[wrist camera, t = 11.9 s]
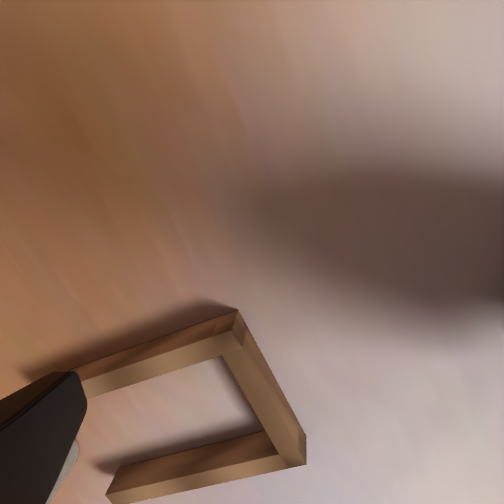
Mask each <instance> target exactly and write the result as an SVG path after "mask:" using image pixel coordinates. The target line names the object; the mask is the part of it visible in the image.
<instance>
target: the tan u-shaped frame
mask: <svg viewBox="0 0 504 504" xmlns="http://www.w3.org/2000/svg"><path fill="white" fill-rule="evenodd" d="M221 355H222V356H223V358H224V360H225V361H226V363H227V365H228V367H229V368H230V370H231V372H232V374H233V375H234V377H235V379H236V380H237V382H238V384H239V386H240V387H241V389H242V391H243V393H244V394H245V396H246V398H247V399H248V401H249V403H250V405H251V406H252V408H253V410H254V412H255V413H256V415H257V417H258V418H259V420H260V422H261V424H262V425H263V427H264V429H265V431H262V432H258V433H254V434H250V435H246V436H242V437H238V438H234V439H230V440H227V441H223V442H219V443H215V444H211V445H207V446H203V447H199V448H195V449H191V450H187V451H183V452H179V453H175V454H172V455H168V456H164V457H160V458H156V459H152V460H148V461H144V462H140V463H136V464H132V465H128V466H124V467H120V468H118V470H117V472H116V474H115V476H114V478H113V480H112V482H111V484H110V486H109V488H108V490H107V492H106V494H105V495H106V496H107V498H108V499H109V500H110V501H111V503H112V504H129V503H134V502H138V501H143V500H147V499H152V498H156V497H161V496H165V495H170V494H174V493H179V492H183V491H188V490H192V489H197V488H201V487H206V486H211V485H215V484H220V483H224V482H229V481H233V480H238V479H242V478H247V477H251V476H256V475H260V474H265V473H269V472H274V471H278V470H283V469H288V468H292V467H297V466H301V465H306V435H305V433H304V431H303V429H302V427H301V425H300V424H299V422H298V420H297V418H296V416H295V414H294V412H293V411H292V409H291V407H290V405H289V403H288V401H287V399H286V398H285V396H284V394H283V392H282V390H281V388H280V387H279V385H278V383H277V381H276V379H275V377H274V375H273V374H272V372H271V370H270V368H269V366H268V364H267V362H266V361H265V359H264V357H263V355H262V353H261V351H260V349H259V348H258V346H257V344H256V342H255V340H254V338H253V336H252V335H251V333H250V331H249V329H248V327H247V325H246V323H245V322H244V320H243V318H242V316H241V314H240V312H239V310H236V311H233V312H231V313H228V314H225V315H222V316H219V317H217V318H214V319H211V320H208V321H205V322H203V323H200V324H197V325H194V326H191V327H189V328H186V329H183V330H180V331H177V332H175V333H172V334H169V335H166V336H163V337H161V338H158V339H155V340H152V341H149V342H147V343H144V344H141V345H138V346H135V347H133V348H130V349H127V350H124V351H122V352H119V353H116V354H113V355H110V356H108V357H105V358H102V359H99V360H96V361H94V362H91V363H88V364H85V365H82V366H80V367H77V368H74V369H71V370H74V371H76V372H77V373H78V375H79V377H80V380H81V383H82V386H83V389H84V392H85V395H86V398H87V399H89V398H92V397H95V396H98V395H101V394H104V393H107V392H110V391H113V390H116V389H119V388H122V387H126V386H129V385H132V384H135V383H138V382H141V381H144V380H147V379H150V378H153V377H156V376H159V375H162V374H165V373H169V372H172V371H175V370H178V369H181V368H184V367H187V366H190V365H193V364H196V363H199V362H202V361H205V360H209V359H212V358H215V357H218V356H221Z"/></svg>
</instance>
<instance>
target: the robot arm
mask: <svg viewBox="0 0 504 504" xmlns="http://www.w3.org/2000/svg"><path fill="white" fill-rule="evenodd" d="M86 410H87V398H86V395H85V392H84V389H83V386H82V383H81V380H80V377H79V375H78V373H77V372H76V371H74V370H56V371H53V372H51V373H49V374H47V375H46V376H44V377H42V378H40V379H38V380H36V381H35V382H33V383H31V384H29V385H27V386H25V387H24V388H22V389H20V390H18V391H16V392H14V393H13V394H11V395H9V396H7V397H5V398H3V399H2V400H0V504H46V502H47V500H48V498H49V496H50V494H51V492H52V490H53V488H54V486H55V484H56V482H57V480H58V478H59V475H60V473H61V471H62V468H63V466H64V464H65V461H66V459H67V457H68V454H69V452H70V449H71V447H72V445H73V442H74V440H75V438H76V435H77V433H78V431H79V428H80V426H81V423H82V421H83V419H84V416H85V414H86Z"/></svg>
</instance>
